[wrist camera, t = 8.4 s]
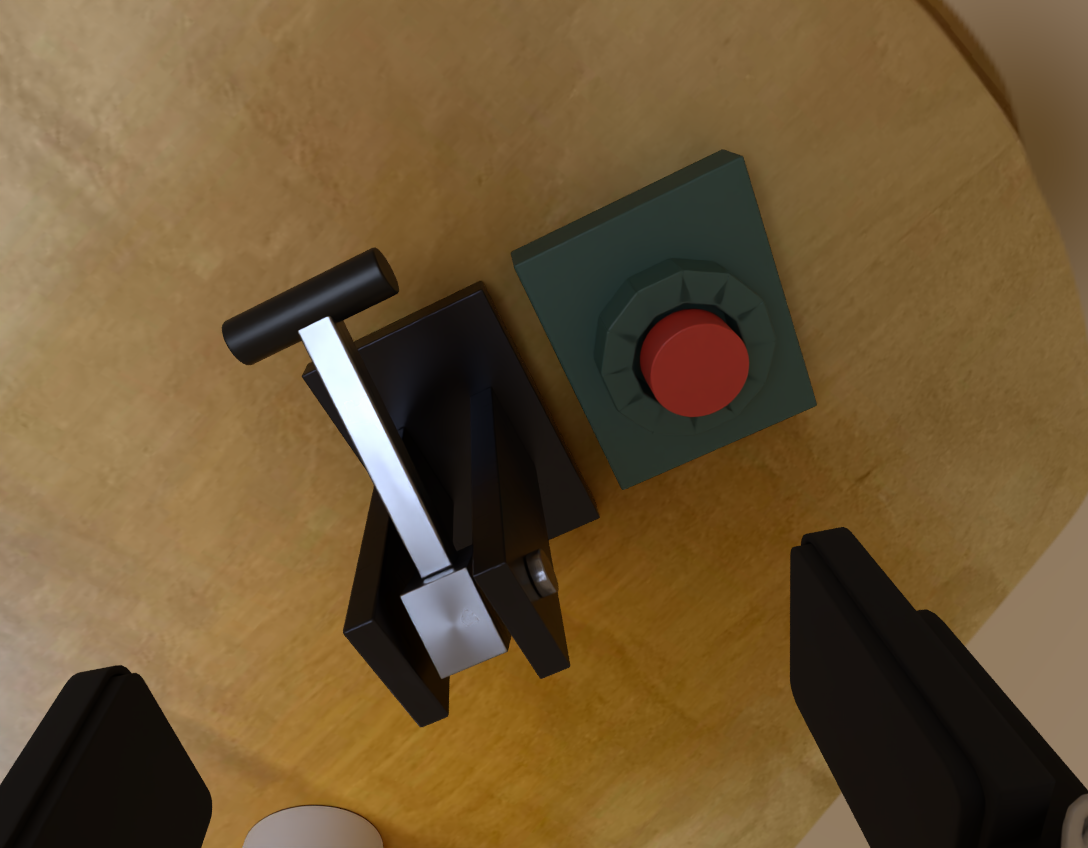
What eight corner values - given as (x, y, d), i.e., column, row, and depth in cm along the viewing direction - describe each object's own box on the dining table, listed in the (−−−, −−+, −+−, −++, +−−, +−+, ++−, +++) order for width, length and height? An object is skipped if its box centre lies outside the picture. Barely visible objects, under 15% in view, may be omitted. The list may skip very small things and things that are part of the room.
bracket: (307, 363, 29) (206, 556, 18) (481, 279, 28) (492, 425, 17) (445, 568, 35) (436, 815, 23) (595, 502, 34) (662, 726, 22)
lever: (245, 321, 22) (204, 321, 20) (387, 251, 21) (363, 241, 19) (417, 659, 23) (398, 697, 21) (555, 601, 23) (552, 633, 20)
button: (625, 334, 26) (635, 351, 25) (716, 291, 26) (732, 306, 24) (658, 412, 28) (670, 433, 26) (745, 373, 27) (761, 392, 26)
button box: (509, 251, 28) (516, 279, 24) (723, 148, 27) (762, 161, 23) (613, 465, 33) (631, 514, 29) (796, 384, 32) (838, 425, 28)
